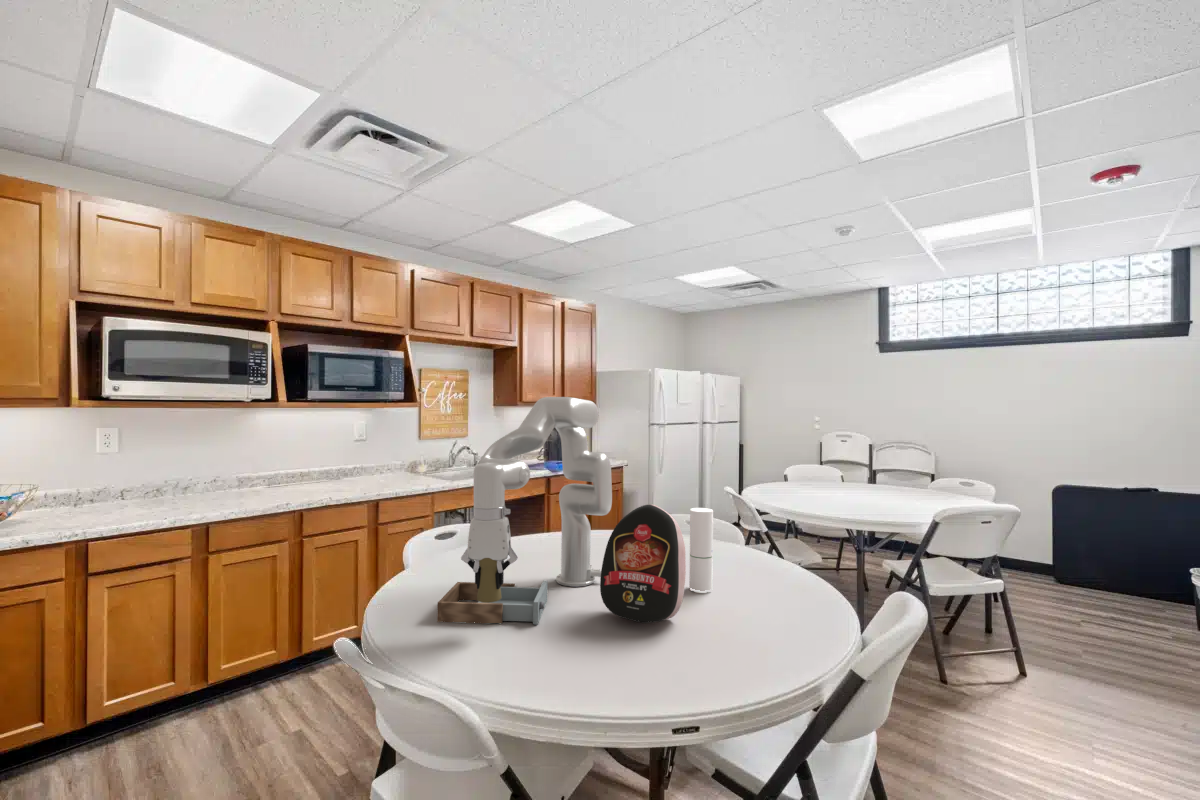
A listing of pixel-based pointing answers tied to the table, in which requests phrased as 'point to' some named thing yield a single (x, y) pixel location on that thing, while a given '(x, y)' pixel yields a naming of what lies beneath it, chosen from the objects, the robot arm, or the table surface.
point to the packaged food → (644, 566)
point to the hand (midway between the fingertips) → (489, 586)
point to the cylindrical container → (701, 549)
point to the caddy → (468, 606)
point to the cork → (488, 581)
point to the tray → (523, 603)
